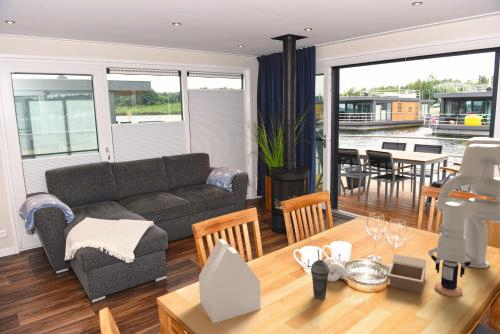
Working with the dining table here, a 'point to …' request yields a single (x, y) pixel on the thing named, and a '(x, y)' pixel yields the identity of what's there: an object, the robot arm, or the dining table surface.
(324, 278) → the beverage cup
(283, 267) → the dining table surface
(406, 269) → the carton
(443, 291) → the coaster
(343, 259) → the white decorative knot
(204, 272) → the milk carton
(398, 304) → the dining table surface
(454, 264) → the beverage can
